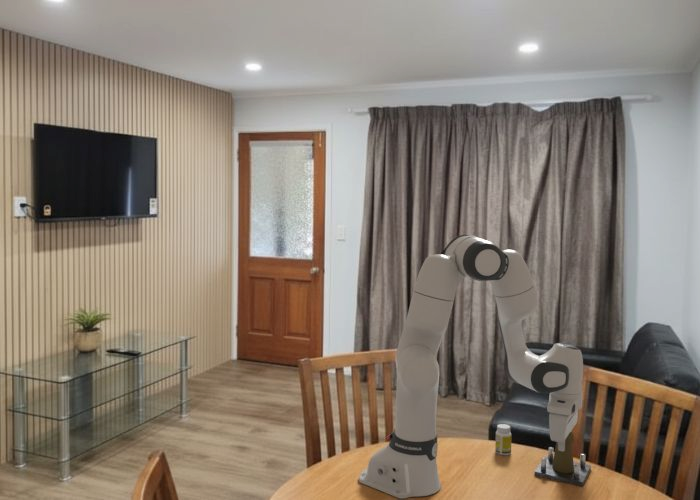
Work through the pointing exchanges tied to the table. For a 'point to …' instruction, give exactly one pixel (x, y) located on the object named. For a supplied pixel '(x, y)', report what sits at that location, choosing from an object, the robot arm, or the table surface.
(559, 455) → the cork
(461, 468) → the table surface
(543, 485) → the table surface
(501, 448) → the supplement bottle
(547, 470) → the standoff chassis
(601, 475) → the table surface
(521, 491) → the table surface
